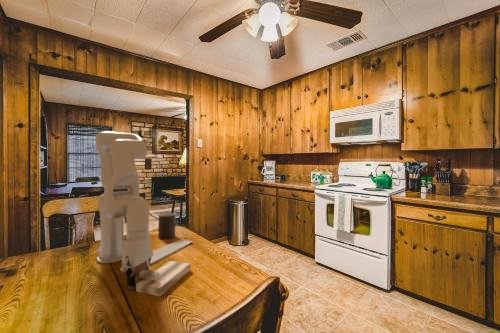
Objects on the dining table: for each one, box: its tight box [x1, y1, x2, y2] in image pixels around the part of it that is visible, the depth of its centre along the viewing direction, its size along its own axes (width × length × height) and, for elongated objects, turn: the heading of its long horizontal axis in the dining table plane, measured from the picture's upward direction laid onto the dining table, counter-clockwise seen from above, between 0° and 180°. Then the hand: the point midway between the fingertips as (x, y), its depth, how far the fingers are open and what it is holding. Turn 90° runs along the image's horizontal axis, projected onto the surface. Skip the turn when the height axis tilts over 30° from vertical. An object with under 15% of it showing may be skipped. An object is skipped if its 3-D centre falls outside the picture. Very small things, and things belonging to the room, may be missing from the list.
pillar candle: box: [157, 212, 176, 240], centre depth 145 cm, size 10×10×15 cm
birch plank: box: [135, 260, 191, 297], centre depth 93 cm, size 10×20×3 cm, turn 163°
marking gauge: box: [127, 261, 159, 291], centre depth 87 cm, size 10×6×8 cm, turn 73°
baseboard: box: [149, 237, 194, 266], centre depth 123 cm, size 31×3×12 cm
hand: (137, 280), depth 88 cm, fingers closed on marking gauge, 6 cm apart
